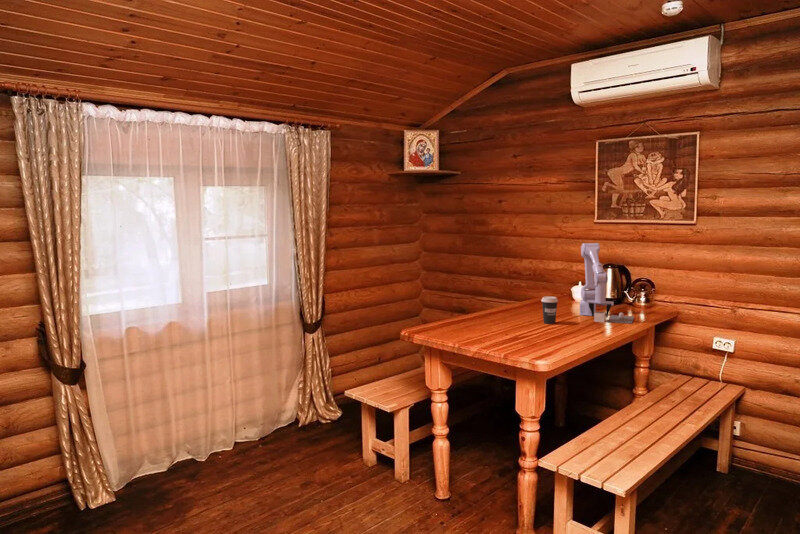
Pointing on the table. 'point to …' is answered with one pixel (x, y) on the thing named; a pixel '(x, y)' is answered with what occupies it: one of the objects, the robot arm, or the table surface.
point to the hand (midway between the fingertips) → (599, 316)
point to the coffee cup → (549, 309)
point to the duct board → (621, 319)
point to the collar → (599, 316)
